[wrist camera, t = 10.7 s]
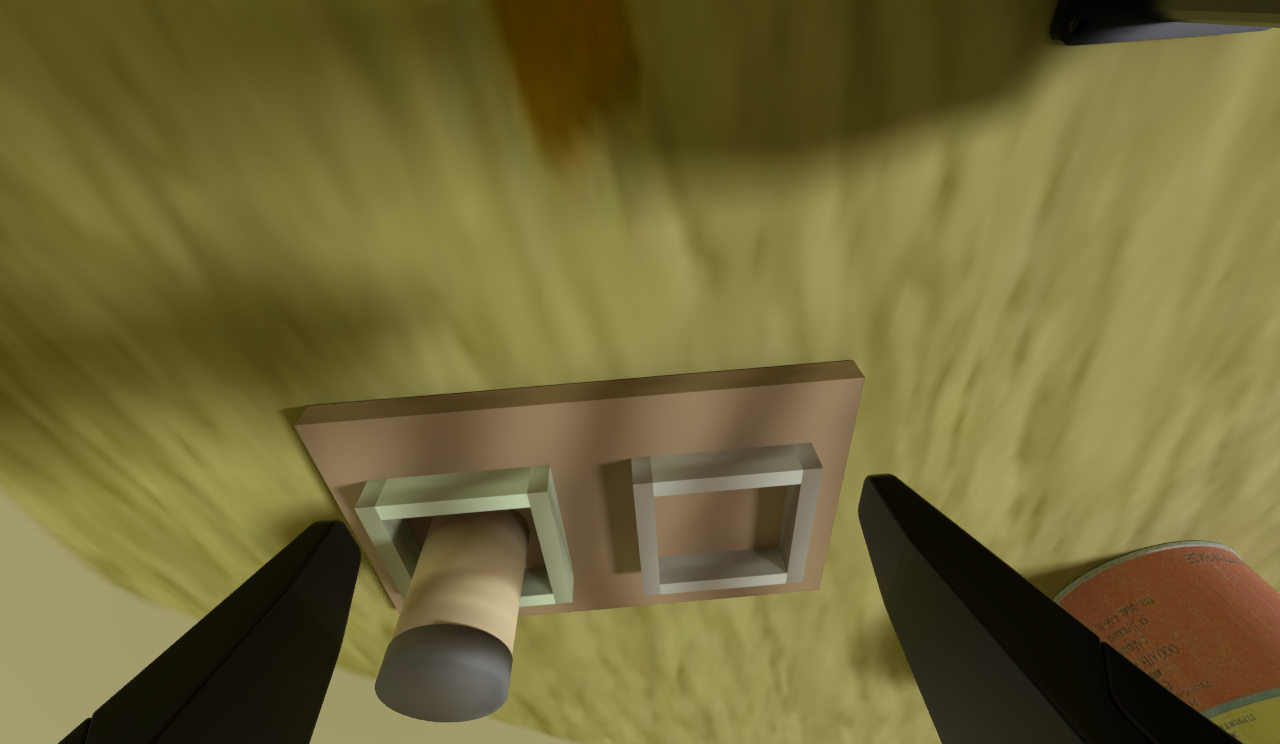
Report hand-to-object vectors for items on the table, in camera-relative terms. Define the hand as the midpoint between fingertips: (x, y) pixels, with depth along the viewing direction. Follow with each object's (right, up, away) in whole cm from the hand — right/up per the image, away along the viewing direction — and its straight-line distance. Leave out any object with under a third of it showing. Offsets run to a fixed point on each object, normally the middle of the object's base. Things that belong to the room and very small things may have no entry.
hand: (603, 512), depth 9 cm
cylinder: (-7, -5, +15) cm, 18 cm away
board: (-1, -4, +17) cm, 17 cm away
